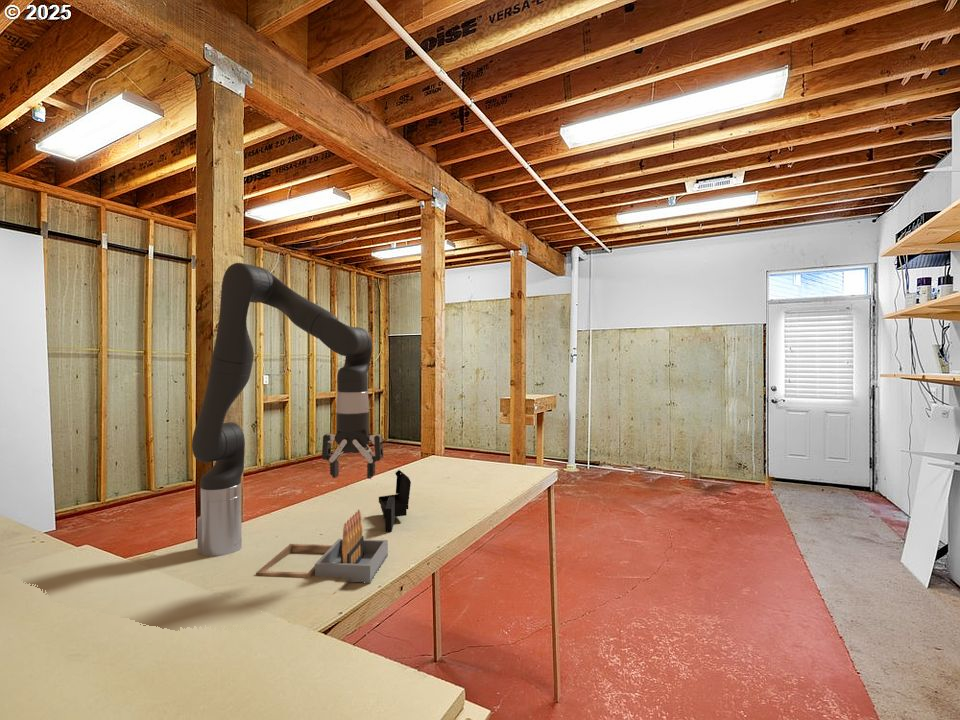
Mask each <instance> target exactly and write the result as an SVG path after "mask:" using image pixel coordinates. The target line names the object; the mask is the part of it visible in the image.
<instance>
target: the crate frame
mask: <svg viewBox="0 0 960 720" xmlns="http://www.w3.org/2000/svg"><path fill="white" fill-rule="evenodd" d="M332 545H333V544H311V543H310V544H308V543H307V544H306V543H289V544H288V545H287V546H286V547H284V549H282V550H281V551H280V552H279V553H278V554H276V555H275V556H274V557H273V558H271V560H269V561H268V562H267V563H266V564H265V565H263V567H261V568H260V569H259V570H257V571H256V572H255V575H256V576H259V577H260V576H264V577H289V578H290V577H291V578H292V577H293V578H311V577H312V576H313V575H315V565H314V566H313V567H311V569H310V570H309V571H308V572H304V571H303V572H302V571H301V572H298V571H275V570H274V571H271V570H270V571H268V570H269V569H270V568H272V567H274V566H275V565H276V564H277V563H279V562H280V561H281V560H283V559H284V558H286V557H287V556H289V555H290V554H291V553H303V554H304V553H305V554H306V553H309V554H325V553H326V552H327V551H328V550H329V549H330V548H331V547H332Z"/></svg>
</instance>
